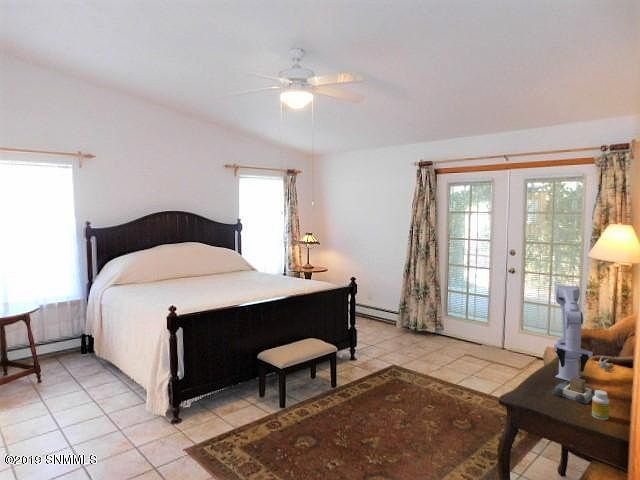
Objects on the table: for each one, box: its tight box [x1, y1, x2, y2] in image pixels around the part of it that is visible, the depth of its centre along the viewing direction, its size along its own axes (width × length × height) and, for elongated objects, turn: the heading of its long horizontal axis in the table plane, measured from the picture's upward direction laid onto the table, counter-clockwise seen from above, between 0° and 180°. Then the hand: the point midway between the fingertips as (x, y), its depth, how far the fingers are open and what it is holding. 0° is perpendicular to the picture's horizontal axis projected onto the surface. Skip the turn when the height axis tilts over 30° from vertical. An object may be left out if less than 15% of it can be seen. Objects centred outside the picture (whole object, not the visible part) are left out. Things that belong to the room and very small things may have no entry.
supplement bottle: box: [591, 389, 610, 421], centre depth 160 cm, size 5×5×10 cm
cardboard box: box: [569, 377, 586, 394], centre depth 178 cm, size 4×4×6 cm
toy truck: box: [552, 380, 595, 404], centre depth 179 cm, size 12×13×3 cm
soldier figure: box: [598, 355, 615, 371], centre depth 209 cm, size 8×5×12 cm
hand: (572, 368), depth 185 cm, fingers open, 7 cm apart
